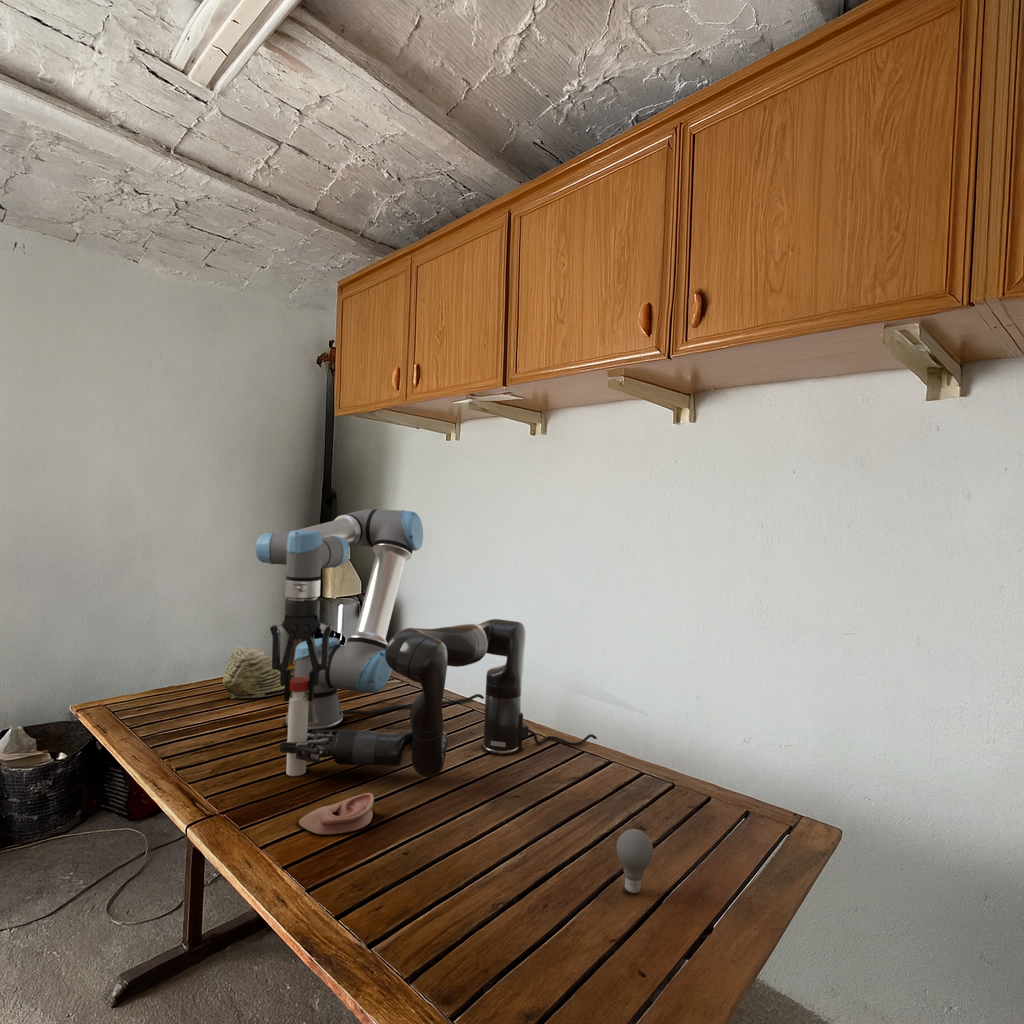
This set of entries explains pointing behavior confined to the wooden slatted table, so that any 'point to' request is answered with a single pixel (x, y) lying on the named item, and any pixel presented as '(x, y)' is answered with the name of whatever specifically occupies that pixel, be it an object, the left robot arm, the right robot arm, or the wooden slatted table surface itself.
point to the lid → (299, 684)
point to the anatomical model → (340, 816)
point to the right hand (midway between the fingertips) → (285, 742)
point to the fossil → (251, 674)
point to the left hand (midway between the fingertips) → (299, 699)
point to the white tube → (297, 730)
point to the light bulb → (634, 857)
